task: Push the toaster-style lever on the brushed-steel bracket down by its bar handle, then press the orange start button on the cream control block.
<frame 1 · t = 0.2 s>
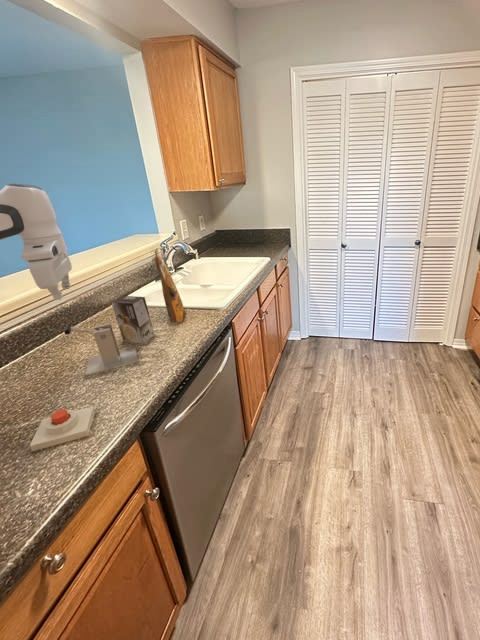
hand: (63, 293, 94), 25 cm above the countertop, tool pointing down, fingers open, 8 cm apart
toaster bracket: (113, 363, 104), on the countertop
toast lever: (87, 331, 97), point 13 cm above the countertop, hinge at 25.0°
start button: (60, 417, 76), point 4 cm above the countertop, slide at 0.2 cm
control block: (66, 430, 77), on the countertop
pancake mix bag: (176, 317, 134), on the countertop
coffee box: (139, 340, 117), on the countertop
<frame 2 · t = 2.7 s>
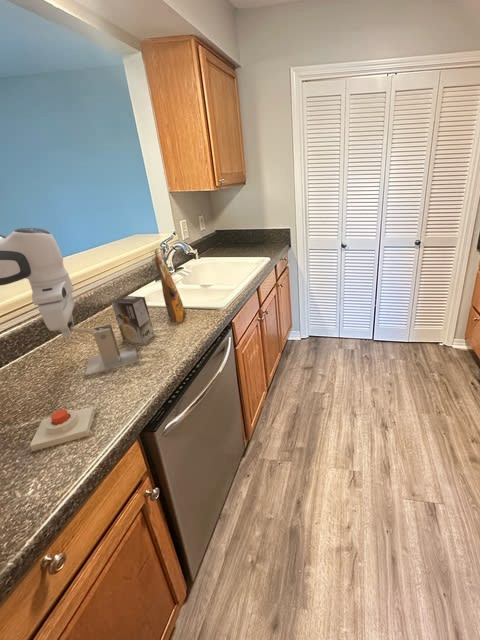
hand: (69, 331, 95), 14 cm above the countertop, tool pointing down, fingers closed on toast lever, 5 cm apart
toast lever: (87, 331, 97), point 13 cm above the countertop, hinge at 25.0°, touching gripper
everything else where it was.
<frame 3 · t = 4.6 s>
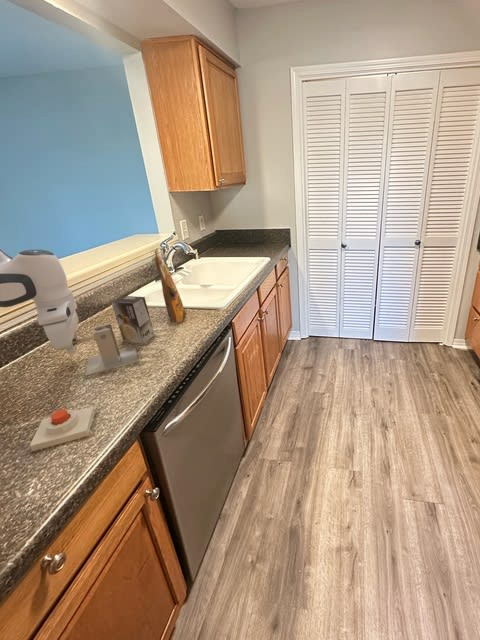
hand: (73, 348, 97), 8 cm above the countertop, tool pointing down, fingers closed on toast lever, 5 cm apart
toast lever: (89, 338, 98), point 10 cm above the countertop, hinge at -9.0°, touching gripper
everything else where it was.
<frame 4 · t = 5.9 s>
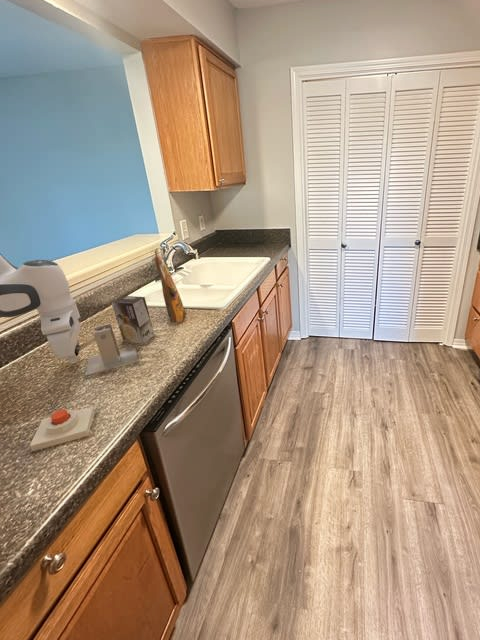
hand: (76, 356, 98), 5 cm above the countertop, tool pointing down, fingers open, 6 cm apart
toast lever: (91, 341, 98), point 9 cm above the countertop, hinge at -24.1°
everything else where it was.
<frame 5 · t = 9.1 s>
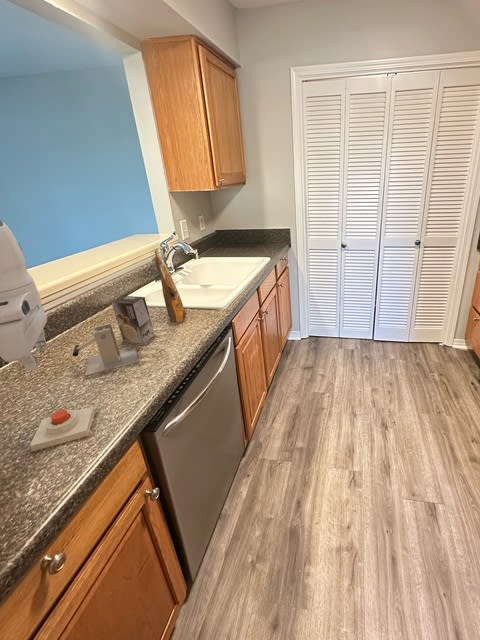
hand: (38, 358, 70), 20 cm above the countertop, tool pointing down, fingers open, 8 cm apart
nothing on the countertop moved.
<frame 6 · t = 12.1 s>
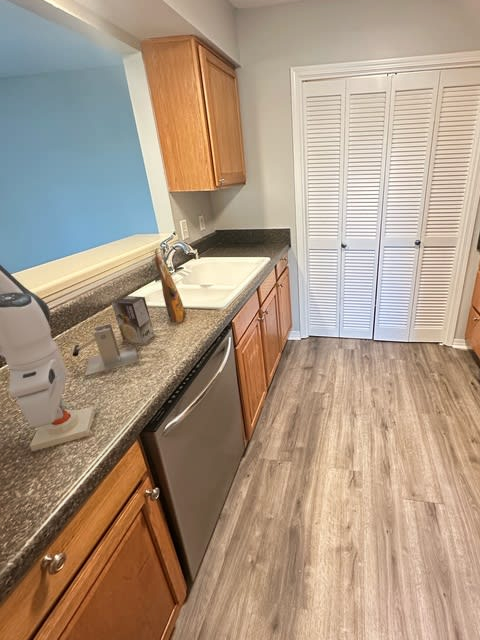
hand: (60, 415, 75), 5 cm above the countertop, tool pointing down, fingers closed, pressing on start button
start button: (60, 418, 76), point 4 cm above the countertop, slide at -0.2 cm, touching gripper
everything else where it was.
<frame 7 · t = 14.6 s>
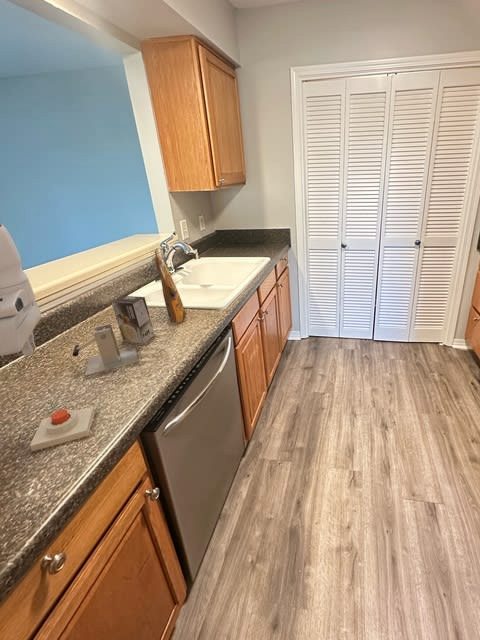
hand: (30, 352, 74), 19 cm above the countertop, tool pointing down, fingers closed
start button: (60, 417, 76), point 4 cm above the countertop, slide at 0.1 cm
everything else where it was.
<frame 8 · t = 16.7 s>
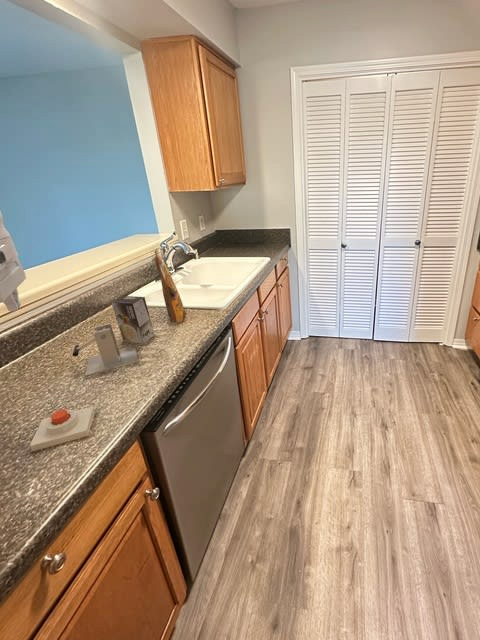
hand: (15, 309, 77), 27 cm above the countertop, tool pointing down, fingers closed
nothing on the countertop moved.
at the end: toast lever at -24° (first picture: +25°); start button pushed in 1.0 cm at the most during the clip, back to where it started at the end; start button slide at 0.1 cm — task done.
